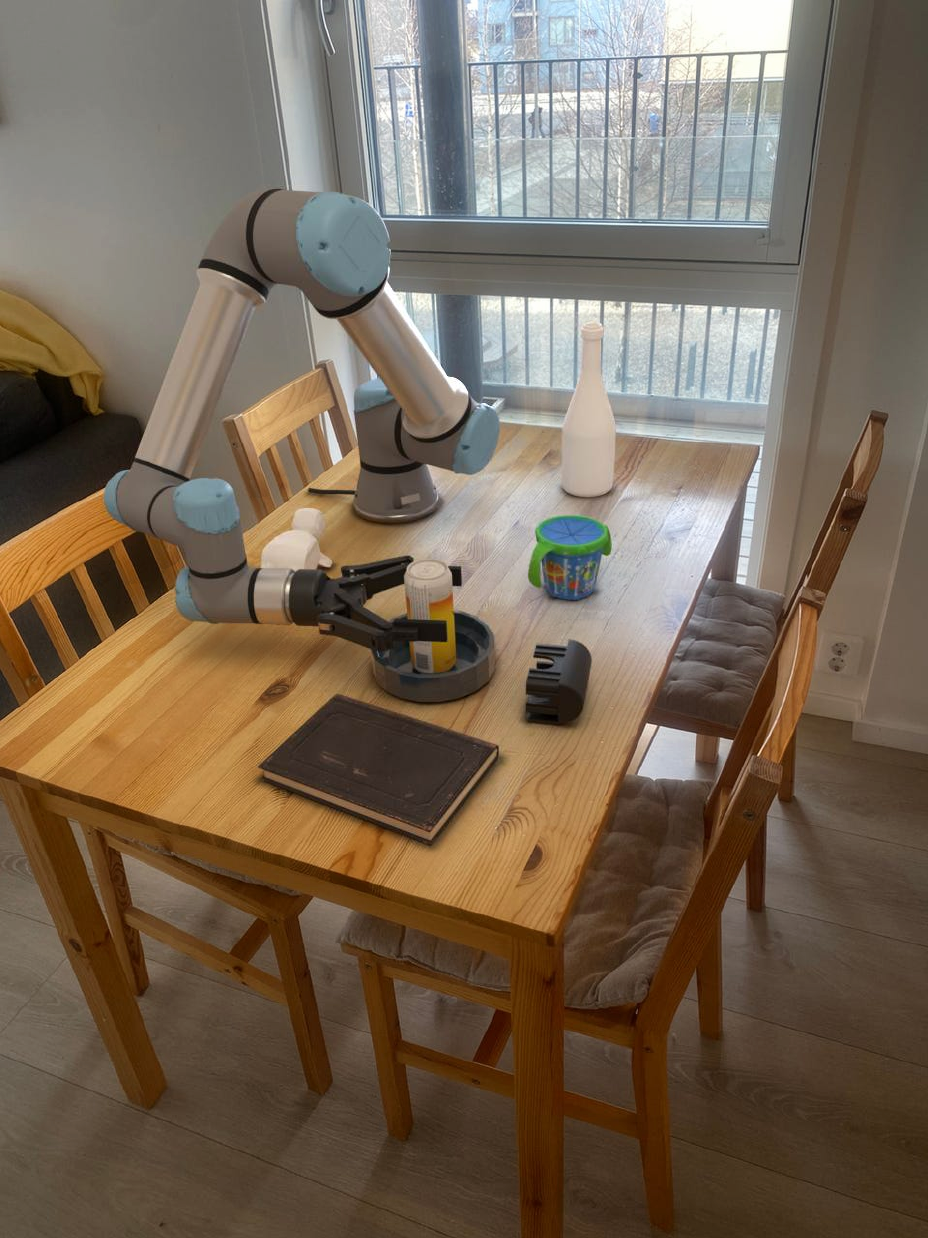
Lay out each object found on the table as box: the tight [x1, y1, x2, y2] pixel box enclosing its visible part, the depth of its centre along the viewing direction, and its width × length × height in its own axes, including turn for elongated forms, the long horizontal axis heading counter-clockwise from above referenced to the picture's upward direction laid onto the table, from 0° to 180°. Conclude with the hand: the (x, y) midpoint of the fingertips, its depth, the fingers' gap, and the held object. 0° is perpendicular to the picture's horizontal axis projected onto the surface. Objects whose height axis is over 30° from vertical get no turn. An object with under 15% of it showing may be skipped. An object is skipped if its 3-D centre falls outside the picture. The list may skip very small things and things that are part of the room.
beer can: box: [404, 557, 456, 674], centre depth 123 cm, size 6×6×15 cm
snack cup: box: [527, 514, 613, 601], centre depth 141 cm, size 16×10×10 cm
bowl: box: [370, 609, 496, 703], centre depth 127 cm, size 16×16×4 cm
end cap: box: [525, 638, 593, 726], centre depth 118 cm, size 10×7×7 cm
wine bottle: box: [560, 321, 617, 498], centre depth 167 cm, size 10×10×30 cm
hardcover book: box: [257, 693, 500, 846], centre depth 110 cm, size 16×23×2 cm
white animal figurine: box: [260, 507, 333, 572], centre depth 151 cm, size 9×8×15 cm
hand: (454, 602), depth 122 cm, fingers open, 13 cm apart
